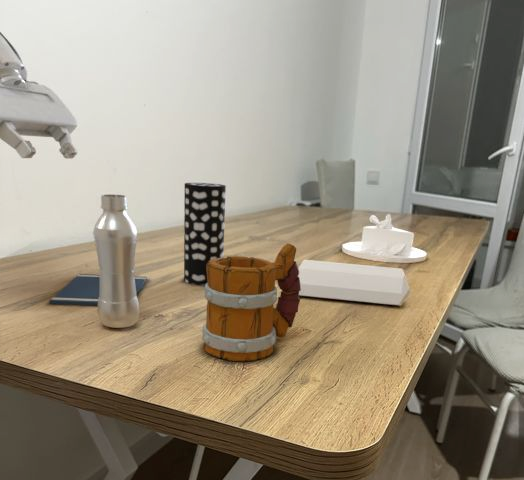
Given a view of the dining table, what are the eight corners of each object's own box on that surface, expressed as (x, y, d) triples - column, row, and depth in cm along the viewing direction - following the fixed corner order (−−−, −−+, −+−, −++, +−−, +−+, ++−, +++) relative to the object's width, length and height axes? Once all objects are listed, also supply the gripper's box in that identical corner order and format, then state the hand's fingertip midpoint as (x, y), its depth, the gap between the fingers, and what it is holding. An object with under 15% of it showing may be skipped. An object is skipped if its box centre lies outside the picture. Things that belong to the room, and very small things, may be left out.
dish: (325, 249, 156) (329, 211, 151) (374, 243, 172) (379, 208, 167) (393, 266, 139) (400, 223, 135) (441, 257, 155) (449, 219, 151)
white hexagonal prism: (408, 279, 108) (294, 268, 111) (414, 268, 101) (292, 257, 104) (405, 313, 107) (290, 301, 110) (411, 305, 100) (288, 292, 103)
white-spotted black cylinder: (229, 283, 112) (233, 186, 104) (195, 287, 107) (196, 186, 100) (210, 274, 118) (212, 182, 110) (177, 278, 113) (177, 182, 106)
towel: (49, 304, 91) (49, 300, 91) (79, 276, 109) (79, 273, 109) (130, 307, 92) (130, 303, 92) (146, 279, 110) (146, 276, 110)
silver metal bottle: (95, 332, 79) (87, 197, 72) (101, 318, 85) (94, 192, 78) (138, 332, 80) (134, 199, 73) (141, 318, 86) (137, 194, 79)
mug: (186, 342, 77) (187, 242, 72) (274, 327, 86) (281, 236, 81) (223, 368, 69) (227, 257, 64) (316, 348, 78) (327, 249, 73)
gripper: (30, 97, 86) (81, 168, 87) (-79, 80, 67) (-12, 170, 69) (53, 70, 83) (105, 143, 84) (-55, 44, 65) (15, 139, 66)
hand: (52, 155), depth 76 cm, fingers open, 8 cm apart
